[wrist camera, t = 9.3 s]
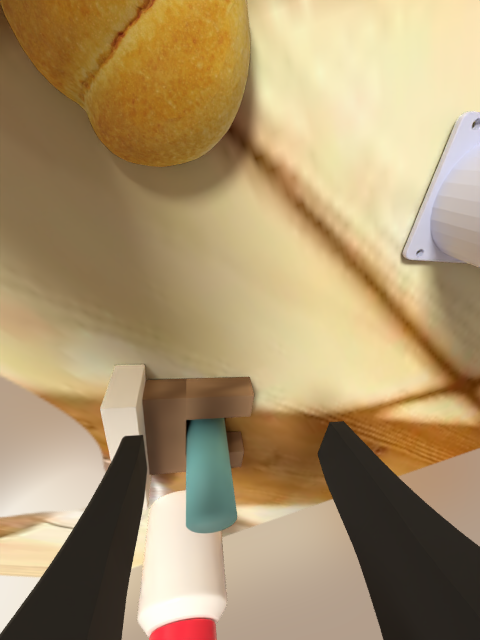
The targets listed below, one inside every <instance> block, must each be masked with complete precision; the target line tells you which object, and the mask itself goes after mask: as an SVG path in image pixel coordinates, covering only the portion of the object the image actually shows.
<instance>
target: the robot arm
mask: <svg viewBox="0 0 480 640" xmlns="http://www.w3.org/2000/svg"><path fill="white" fill-rule="evenodd" d="M474 121H475V126H474V127H473V129H472V124H473V122H474ZM418 250H419V253H418V254H416V253H417V251H418ZM403 256H404V258H406V259H409V260H421V261H437V262H454V263H469V264H471V265H474V266H476V267H479V268H480V112H474V111H472V112H465V113H463V114H461V115H460V116H459V118H458V119H457V121H456V123H455V125H454V128H453V130H452V133H451V135H450V138H449V140H448V142H447V145H446V147H445V150H444V152H443V155H442V157H441V160H440V162H439V164H438V167H437V169H436V172H435V174H434V177H433V179H432V182H431V184H430V186H429V189H428V191H427V194H426V196H425V199H424V201H423V204H422V206H421V209H420V211H419V213H418V216H417V218H416V221H415V223H414V226H413V228H412V231H411V233H410V235H409V238H408V240H407V243H406V245H405V248H404V250H403ZM318 457H319V460H320V464H321V467H322V471H323V474H324V477H325V480H326V483H327V485H328V488H329V490H330V492H331V495H332V497H333V500H334V502H335V504H336V507H337V509H338V511H339V514H340V516H341V519H342V521H343V523H344V525H345V528H346V530H347V533H348V535H349V537H350V540H351V542H352V544H353V547H354V550H355V552H356V554H357V557H358V560H359V563H360V566H361V569H362V572H363V575H364V578H365V581H366V584H367V587H368V590H369V593H370V597H371V599H372V603H373V606H374V609H375V612H376V616H377V619H378V622H379V625H380V629H381V633H382V636H383V639H384V640H480V547H479V546H478V545H477V544H475V543H474V542H473V541H471V540H470V539H469V538H468V537H466V536H465V535H464V534H463V533H461V532H460V531H459V530H457V529H456V528H455V527H454V526H453V525H451V524H450V523H449V522H448V521H446V520H445V519H444V518H443V517H442V516H440V515H439V514H438V513H437V512H436V511H435V510H433V509H432V508H431V507H430V506H429V505H428V504H427V503H425V502H424V501H423V500H422V499H421V498H420V497H419V496H418V495H417V494H415V493H414V492H413V491H412V490H411V489H410V488H409V487H408V486H407V485H406V484H405V483H404V482H403V481H401V480H400V479H399V478H398V477H397V476H396V475H395V474H394V473H393V472H392V471H391V470H390V469H389V468H388V467H387V466H386V465H385V464H384V463H383V462H382V461H381V460H380V459H379V458H378V457H377V456H376V455H375V454H374V453H373V451H372V450H371V449H370V448H369V447H368V446H367V445H366V444H365V443H364V442H363V441H362V440H361V439H360V438H359V437H358V436H357V435H356V434H355V433H354V432H353V431H352V430H351V429H350V427H349V426H348V425H347V424H346V423H345V422H344V421H342V422H330V423H329V425H328V428H327V431H326V433H325V436H324V438H323V441H322V443H321V446H320V449H319V451H318ZM146 477H147V462H146V454H145V446H144V438H143V435H132V436H124V437H123V438H122V440H121V442H120V445H119V447H118V449H117V451H116V453H115V456H114V458H113V460H112V462H111V464H110V466H109V468H108V470H107V471H106V473H105V475H104V477H103V479H102V481H101V483H100V485H99V486H98V488H97V490H96V492H95V494H94V495H93V497H92V499H91V501H90V502H89V504H88V506H87V508H86V509H85V511H84V513H83V514H82V516H81V517H80V519H79V521H78V522H77V524H76V525H75V527H74V529H73V530H72V532H71V534H70V535H69V537H68V538H67V540H66V542H65V543H64V545H63V546H62V548H61V549H60V551H59V552H58V554H57V555H56V557H55V558H54V560H53V561H52V563H51V564H50V566H49V567H48V569H47V570H46V571H45V573H44V574H43V576H42V577H41V579H40V580H39V582H38V583H37V584H36V586H35V587H34V589H33V590H32V592H31V593H30V594H29V596H28V597H27V598H26V600H25V601H24V603H23V604H22V605H21V607H20V608H19V609H18V611H17V612H16V614H15V615H14V616H13V618H12V619H11V620H10V622H9V623H8V624H7V626H6V627H5V628H4V630H3V631H2V633H1V634H0V640H121V638H122V629H123V620H124V612H125V603H126V596H127V589H128V583H129V577H130V572H131V567H132V562H133V556H134V551H135V546H136V541H137V536H138V530H139V525H140V520H141V515H142V509H143V504H144V498H145V488H146Z"/></svg>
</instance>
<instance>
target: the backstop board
mask: <svg viewBox="0 0 480 640" xmlns="http://www.w3.org/2000/svg"><path fill="white" fill-rule="evenodd" d="M145 382H146V375H145V364H139V365H115V367H114V370H113V373H112V376H111V379H110V381H109V384H108V387H107V390H106V393H105V396H104V399H103V402H102V405H101V408H100V411H101V416H102V420H103V425H104V430H105V435H106V439H107V444H108V449H109V454H110V458H111V462H112V460H113V458H114V456H115V453H116V451H117V449H118V447H119V445H120V442H121V440H122V438H123V437H124V436H132V435H143V438H144V446H145V454H146V462H147V477H146V488H145V498H144V504H143V509H142V510H147V509H148V502H149V493H150V485H151V476H152V475H149V465H148V455H147V444H146V434H145V424H144V414H143V404H142V398H143V393H144V387H145Z"/></svg>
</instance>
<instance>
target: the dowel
mask: <svg viewBox="0 0 480 640" xmlns="http://www.w3.org/2000/svg"><path fill="white" fill-rule="evenodd" d="M236 519H237V511H236V503H235V496H234V488H233V481H232V473H231V465H230V458H229V450H228V443H227V435H226V427H225V420H224V418H213V419H195V420H187V443H186V527H187V528H188V529H189V530H190V531H192V532H195V533H214V532H218V531H221V530H224V529H226V528H228V527H230V526H231V525H232V524H234V523H235V521H236Z"/></svg>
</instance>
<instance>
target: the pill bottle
mask: <svg viewBox="0 0 480 640" xmlns="http://www.w3.org/2000/svg"><path fill="white" fill-rule="evenodd" d="M226 606H227V592H226V581H225V569H224V557H223V545H222V533H221V531H218V532H214V533H195V532H192V531H190V530H189V529H188V528H187V527H186V490H182V491H176V492H172V493H169V494H167V495H164V496H162V497H161V498H159V499H158V500H156V501H155V502H154V503H153V504H152V505H151V507H150V509H149V515H148V525H147V534H146V543H145V552H144V561H143V570H142V579H141V588H140V597H139V607H138V615H137V621H138V623H139V625H140V627H141V628H142V630H143V631H144V632H145V634H146V635H147V636H148V637H149V640H217V638H216V624H217V623H218V621H219V619H220V617H221V616H222V614H223V612H224V610H225V608H226Z"/></svg>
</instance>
